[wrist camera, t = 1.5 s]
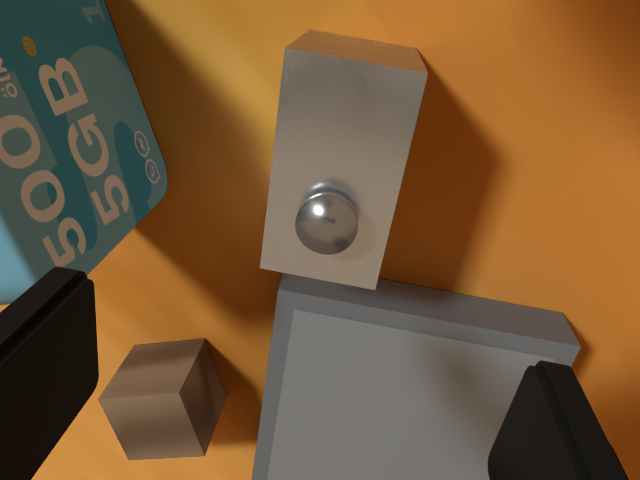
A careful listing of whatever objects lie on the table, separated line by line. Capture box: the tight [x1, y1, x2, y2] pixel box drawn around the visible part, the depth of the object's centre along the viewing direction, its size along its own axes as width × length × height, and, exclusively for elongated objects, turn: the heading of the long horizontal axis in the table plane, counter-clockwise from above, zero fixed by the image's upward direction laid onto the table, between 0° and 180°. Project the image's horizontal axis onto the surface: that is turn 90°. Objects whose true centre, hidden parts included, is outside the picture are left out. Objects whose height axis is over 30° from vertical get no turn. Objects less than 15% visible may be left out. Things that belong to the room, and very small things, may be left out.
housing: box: [260, 29, 428, 290], centre depth 22 cm, size 9×5×8 cm, turn 171°
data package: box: [0, 0, 167, 305], centre depth 21 cm, size 12×4×12 cm, turn 13°
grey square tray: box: [252, 273, 581, 480], centre depth 32 cm, size 16×16×3 cm
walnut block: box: [98, 338, 227, 460], centre depth 32 cm, size 5×5×5 cm
